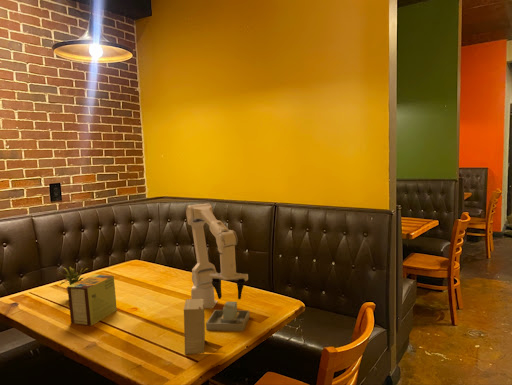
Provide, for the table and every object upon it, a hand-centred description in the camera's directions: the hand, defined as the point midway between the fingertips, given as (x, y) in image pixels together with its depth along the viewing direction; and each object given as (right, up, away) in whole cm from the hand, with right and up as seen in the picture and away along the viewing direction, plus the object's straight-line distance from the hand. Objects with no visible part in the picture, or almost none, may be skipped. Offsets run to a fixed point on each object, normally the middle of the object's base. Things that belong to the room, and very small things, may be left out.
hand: (229, 298), depth 142 cm
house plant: (-76, -10, +34) cm, 84 cm away
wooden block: (0, -10, 0) cm, 10 cm away
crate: (0, -10, +1) cm, 10 cm away
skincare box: (-10, -13, -15) cm, 22 cm away
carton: (0, -6, 0) cm, 6 cm away
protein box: (-57, -12, +14) cm, 60 cm away
